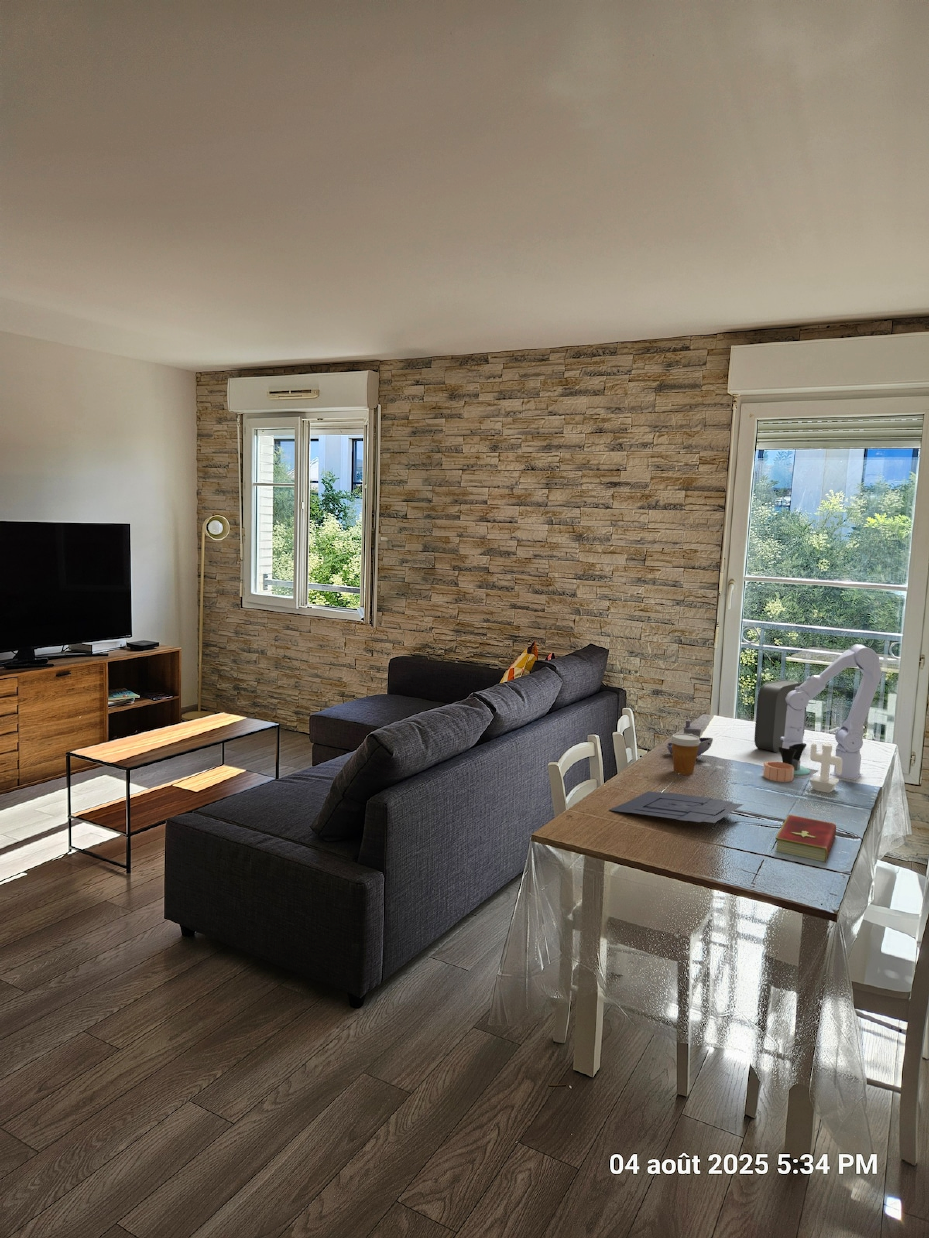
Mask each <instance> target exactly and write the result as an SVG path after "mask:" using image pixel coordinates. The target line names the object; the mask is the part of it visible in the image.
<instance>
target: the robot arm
mask: <svg viewBox="0 0 929 1238" xmlns="http://www.w3.org/2000/svg"><path fill="white" fill-rule="evenodd" d="M847 668H848V669H849V668H850V669H851V668H858V669H859V670H860V672H861V674H862V678H861V680H860V683H859V686H858V687H857V691H856V694H855V696H854V698H853V699H854V700H853V702H852V705H851V707H850V709H849V713H848V715H847V718H846V719H845V720H844V721H843V722H842V724H841V726H840V727H839V728H838V730H837V731H836V732H835V734H834V735H835V736H834V737H835V741H836V742H837V745H836V746H835V755H834V756H836V757H840V758H842V773H841V774H840V775H837V774H836V766H835V765H833V768H834V770H833V771H832V772H831V773H829V776H834V777H840V778H844V779H849V780H853V781H854V780H857V779H858V778H859V777H861V776H863V775H864V774H863V773H861V763H862V761H861V760H862V756H861V755H862V754H861V749H862V747H863V745H864V741H863V740H864V739H863V737H864V733H865V731H864V724H865V722H866V719H867V716H868V713H869V711H870V708H871V705H872V703H873V700H874V698H875V695H876V692H877V689H878V687H879V685H880V682H881V678H882V675H883V673H882V669H881V663H880V657H879V655H878V654H877V653H876V651H875V650H874V649H873V648H871V647H867V646H865V645H864V644H861V643H856V644H853V645H852V646H851V647H849V649H846V650H844V652H842V653H841V654H840V655H839V656H838V657H837V658H836V659H835V660H834V661H833V662H832V663H831V664H830V665H828V666H827V667H826V668H825V669H824V670H823V671H822V672H821V673H819V674H814V675H813V674H812V675H811V676H810V675H808V676H807V677H806V678H805V679H806V680H805V681H803V684H801V685H800V687H795V689H796V690H794V691H790V692H789V693H788V694H787V697H785V699H786V702H787V704H788V705H787V712H786V723H785V735H784V737H781V740H783V741H784V742H783V745H782V746H779V751H780V752H779V753H780V755H781V759H782V760H781V762H783V763H787V764H790V765H792V761H793V759H795V760H800V761H801V757H802V754H803V753H804V750H805V749H806V747H807V743H804V736H803V728H804V717H805V714H804V713H805V707H806V708H807V706H808V705H809V702H810V701H812V700H813V699H814V698H815V697H816V696H818V695H819V694H820V693H821V692H823V691H824V690H825V689H826V685H827V683H828V682H829V681H830V680H832V679H833V678H835V677H836V676H837V675H838V674H840V673H842V672H843V671H844V670H846V669H847Z"/></svg>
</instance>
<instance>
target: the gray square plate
mask: <svg viewBox="0 0 929 1238" xmlns="http://www.w3.org/2000/svg"><path fill="white" fill-rule="evenodd" d="M807 768H808V769H809V770H810V774H808V775H794V776H793V778H798V779H803V780H806V779H809V777H811V776H814V775H815V774H816V773H818V772H820V771H819V770H818V769H814V768H813V769H812V768H809V767H807Z"/></svg>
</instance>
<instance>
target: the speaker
mask: <svg viewBox="0 0 929 1238" xmlns="http://www.w3.org/2000/svg"><path fill="white" fill-rule="evenodd" d="M803 683H804V681H803V682H802V681H800V682H798V681H797V682H796V681H791V680H788V679H780V680H774V681H770V682H765V683H764V684H762V685H761V687H760V688H759V690H758V694H757V700H756V701H757V702H756V712H755V713H756V715H755V716H756V717H755V723H754V724H755V725H754V736H753V737H754V740H753V741H754V745H755V747H756V749H758V750H759V749H761V750H765V751H769V752H773V753H775V754H777V753H780V751H779V746H782V745H783V742H784V741H783V740H781V737H784V735H785V723H786V712H787V705H788V704H787V702H786V699H785V697H787V694H788V693H789V692H790V691H794V690H796V689H795V687H800V685H801V684H803ZM804 714H805V717H804V728H803V737H804V736H805V727H806V719H807V717H806V715H807V707H805V713H804Z"/></svg>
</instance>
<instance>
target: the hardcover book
mask: <svg viewBox="0 0 929 1238" xmlns="http://www.w3.org/2000/svg"><path fill="white" fill-rule="evenodd" d="M836 835H837V824H836V823H835V822H830V821H824V820H820V819H814V818H809V817H803V816H799V815H795V814H794V815H793V814H787V817H786V818H785V820H784V822H783V824H782V826H781V827H780V829H779V831H778V832H777V833H776V836H775V841H776V849H775V850H776V851H775V852H778V853H782V854H787V855H793V856H797V857H801V858H805V859H810V860H816V861H818V862H819V861H820V862H824V863H827V860H828V858H829V855H830V852H831V849H832V846H833V842H834V840H835V837H836Z"/></svg>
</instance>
